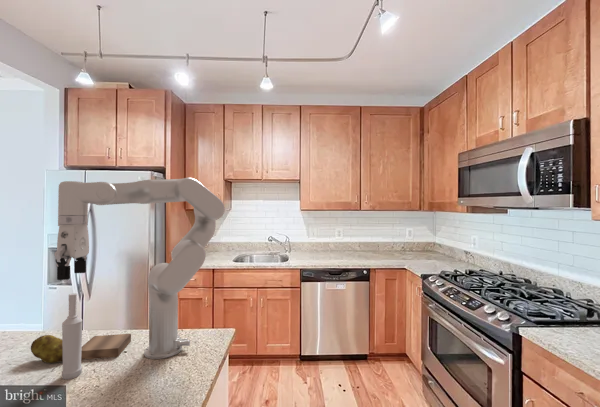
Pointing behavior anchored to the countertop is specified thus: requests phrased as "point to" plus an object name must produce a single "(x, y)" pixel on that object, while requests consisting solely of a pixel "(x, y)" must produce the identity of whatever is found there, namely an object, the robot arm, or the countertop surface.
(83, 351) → the walnut plinth
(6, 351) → the countertop surface
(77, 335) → the bottle
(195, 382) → the countertop surface
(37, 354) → the potato
